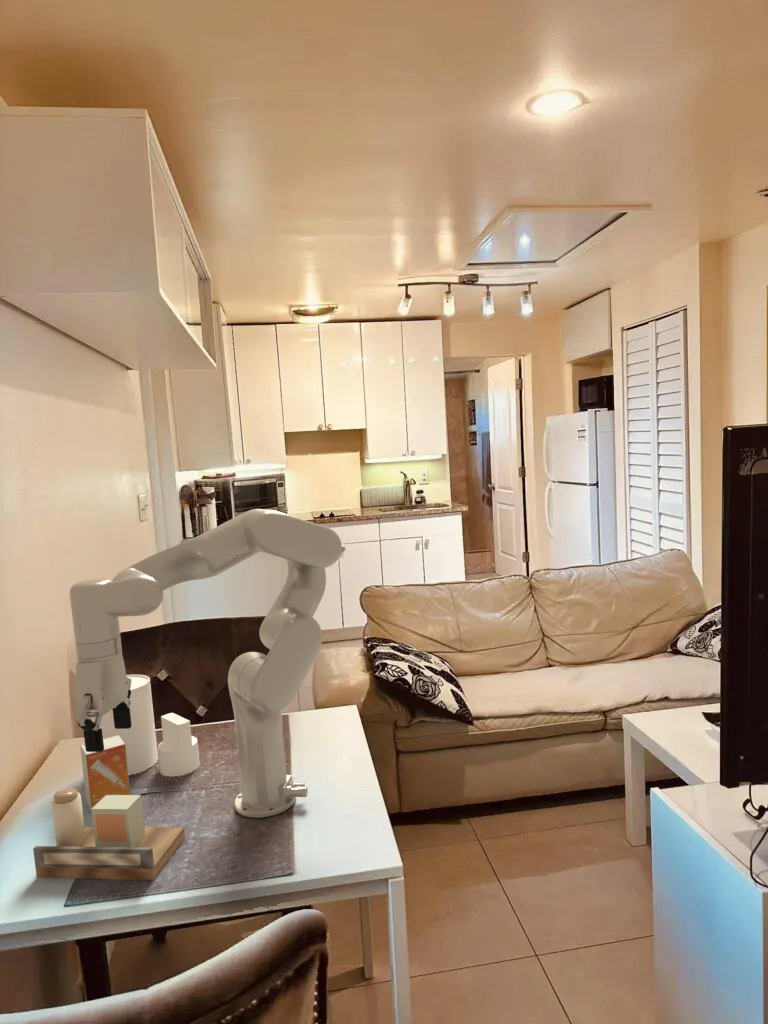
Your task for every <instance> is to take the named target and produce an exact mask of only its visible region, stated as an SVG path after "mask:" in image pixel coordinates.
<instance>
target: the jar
mask: <svg viewBox="0 0 768 1024" xmlns="http://www.w3.org/2000/svg"><path fill="white" fill-rule="evenodd" d="M50 804H51V811H52V812H51V813H52V821H53V827H54V838H55V845H56V846H70V847H82V846H83V845H84V844H85V842H86V837H85V828H84V827H85V821H84V820H85V819H84V811H83V804H82V796H81V793H80V792H78V789H77V788H76V787H67V788H63V789H61V790H59V791H56V792H55V793H54V795H53V799H52V800H51V802H50Z"/></svg>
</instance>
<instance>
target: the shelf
mask: <svg viewBox="0 0 768 1024" xmlns="http://www.w3.org/2000/svg"><path fill="white" fill-rule="evenodd" d="M84 828H85V837H86V842H85V844H84V845H83V846H82V847H70V846H52V845H50V846H49V845H43V846H42V845H36V846H34V847H33V848H32V850H33V858H34V867H35V876H36V879H77V878H78V879H79V880H80V879H81V878H82V880H87V879H88V880H129V881H131V880H135V881H136V880H137V881H139V880H141V881H144V880H145V881H147V880H148V881H153V880H155V879H156V877H157V876H158V875H159V873H160V872H161V870H163V868H164V867H165V865H166V864H167V863H168V861H169V860H170V859H171V857H172V856H173V855H174V853H175V852H176V850H177V849H178V847H180V846H181V844H182V842H183V841H184V839H185V838H186V833H185V827H169V826H168V827H163V826H162V827H156V826H154V827H151V826H147V827H146V826H144V830H145V836H144V838H143V839H142V840H141V841H140V842H139V843H138V845H137V846H136V847H96V846H95V837H94V828H93V826H84ZM84 878H85V879H84ZM90 878H91V879H90ZM104 878H105V879H104Z"/></svg>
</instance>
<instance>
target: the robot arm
mask: <svg viewBox="0 0 768 1024" xmlns="http://www.w3.org/2000/svg"><path fill="white" fill-rule="evenodd" d="M342 544H343V543H342V540H341V539H340V536H339V535H338V533H337V532H336V531H334V530H333V528H330V527H328V526H325V525H321V524H318V523H316V522H311V521H310V520H305V519H303V518H299V517H296V516H294V515H290V514H287V513H284V512H281V511H278V510H274V509H262V508H253V509H250V510H246V511H245V512H243V513H241V514H238V515H237V516H235V517H232V518H231V519H229V520H227V521H225V522H222V523H221V524H220V525H218V526H217V525H216V527H214V528H212V529H210V530H208V531H207V530H206V531H205V532H203V533H201V534H199V535H197V536H195V537H193V538H191V539H188V540H185V541H183V542H181V543H178V544H176V545H174V546H171V547H169V548H168V547H167V548H166V549H163V550H160V551H159V552H156V553H154V554H152V555H150V556H148V557H146V558H144V559H141V560H140V561H138V562H136V563H133V564H132V565H130V566H128V567H126V568H124V569H122V570H121V571H119V572H117V574H116V575H115V576H114V577H113V579H112V580H110V579H107V578H94V579H93V578H92V579H87V580H82V581H81V580H80V581H79V582H76V583H74V584H73V585H71V587H70V589H69V600H70V608H71V616H72V624H73V632H74V640H75V641H74V642H75V649H76V657H77V658H76V659H77V662H76V666H75V667H76V668H75V698H76V700H75V701H76V710H75V712H74V715H73V716H74V718H75V720H76V722H77V725H78V727H79V728H80V730H81V732H83V739H84V745H85V748H86V751H87V752H101V751H103V750H104V743H103V734H102V728H101V729H99V727H100V723H101V719H102V716H103V715H105V714H106V713H108V712H109V711H110V710H112V709H113V718H114V726H115V728H116V729H129V728H131V726H132V724H131V715H130V707H129V706H130V704H131V702H130V700H129V699H130V695H131V690H130V689H131V679H130V678H127V676H126V675H127V672H126V671H127V670H126V666H125V662H124V661H125V660H124V656H123V648H122V638H121V629H120V620H119V618H122V617H141V616H146V615H149V614H151V613H153V612H155V611H156V610H157V609H158V608H159V607H160V606H161V604H162V602H163V599H164V591H165V590H167V589H169V588H171V587H174V586H176V585H179V584H182V583H185V582H191V581H196V580H197V581H199V580H204V579H209V578H213V577H215V576H218V575H221V574H222V573H223V572H225V571H227V570H229V569H231V568H233V567H235V566H236V565H238V564H240V563H242V562H243V561H246V560H248V559H249V558H251V557H253V556H254V555H257V554H258V553H261V552H262V553H266V554H270V555H272V556H275V557H278V558H282V559H284V560H286V563H287V576H286V580H285V582H284V584H283V586H282V589H281V590H280V592H279V594H278V595H277V598H275V600H274V602H273V604H272V606H271V607H270V609H269V611H268V612H267V614H266V616H265V617H264V619H263V621H262V623H261V625H260V626H259V633H258V634H259V639H260V641H261V643H262V644H263V646H264V647H266V648H267V649H269V652H268V653H267V655H266V654H264V653H262V652H257V651H249V652H244V653H242V654H240V655H238V656H237V657H236V658H235V659H234V661H232V663H231V665H229V666H230V667H229V669H228V673H227V674H228V675H227V686H228V691H229V697H230V700H231V704H232V711H233V717H234V726H235V736H236V739H235V740H236V751H237V759H238V760H237V761H238V770H239V781H240V783H239V784H240V793H239V794H237V796H236V798H235V800H234V809H235V811H236V813H238V814H239V815H241V816H244V817H248V818H253V819H255V818H265V817H266V818H267V817H272V816H275V815H278V814H281V813H283V812H285V811H286V810H288V809H289V808H291V807H292V806H293V805H294V803H295V802H296V800H297V798H307V797H308V791H309V790H308V787H307V786H305V782H295V781H292V775H291V774H288V773H287V765H286V764H287V763H286V753H285V752H286V751H285V741H284V740H285V739H284V731H283V730H284V729H283V728H284V725H283V716H282V710H283V709H284V708H286V707H287V706H288V705H289V704H290V703H291V702H292V700H293V699H294V697H295V696H296V695H297V692H298V691H299V689H300V687H301V686H302V684H303V682H304V681H305V679H306V677H307V676H308V673H309V672H310V670H311V668H312V666H313V664H314V662H315V661H316V659H317V657H318V655H319V654H320V650H321V647H322V642H323V632H322V628H321V626H320V624H319V622H318V621H317V620H316V619H315V618H314V616H315V613H316V611H317V609H318V607H319V605H320V603H321V601H322V600H323V597H324V594H325V591H326V587H327V586H326V585H327V573H326V572H327V571H326V569H327V568H329V567H331V566H333V565H334V564H335V563H336V562H338V560H339V558H340V557H341V555H342V551H343V546H342ZM115 707H116V708H115ZM92 710H98V712H92ZM93 717H95V721H94V722H93V720H91V718H93Z"/></svg>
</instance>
